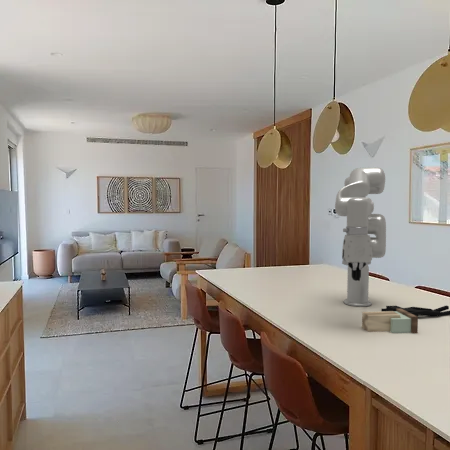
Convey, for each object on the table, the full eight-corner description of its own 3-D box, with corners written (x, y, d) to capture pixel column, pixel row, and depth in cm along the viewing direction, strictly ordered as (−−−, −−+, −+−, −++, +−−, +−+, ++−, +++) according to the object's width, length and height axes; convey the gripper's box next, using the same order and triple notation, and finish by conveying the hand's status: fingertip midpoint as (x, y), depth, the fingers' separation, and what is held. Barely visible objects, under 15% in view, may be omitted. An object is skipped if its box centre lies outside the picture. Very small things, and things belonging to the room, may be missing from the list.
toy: (441, 314, 187) (381, 315, 180) (442, 303, 187) (381, 304, 180) (457, 320, 178) (394, 321, 171) (458, 308, 177) (395, 310, 170)
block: (379, 324, 163) (379, 311, 163) (396, 324, 164) (396, 311, 164) (392, 333, 153) (392, 319, 152) (410, 332, 153) (411, 318, 153)
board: (324, 323, 168) (324, 306, 168) (394, 321, 171) (395, 304, 170) (343, 339, 148) (343, 320, 148) (422, 337, 151) (422, 318, 151)
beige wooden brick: (361, 327, 160) (362, 311, 159) (392, 326, 161) (393, 311, 160) (368, 332, 154) (368, 315, 154) (399, 331, 155) (400, 315, 155)
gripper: (341, 232, 153) (340, 282, 155) (381, 232, 155) (379, 281, 156) (334, 230, 161) (333, 278, 162) (372, 230, 162) (371, 277, 164)
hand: (356, 279), depth 159 cm, fingers closed
